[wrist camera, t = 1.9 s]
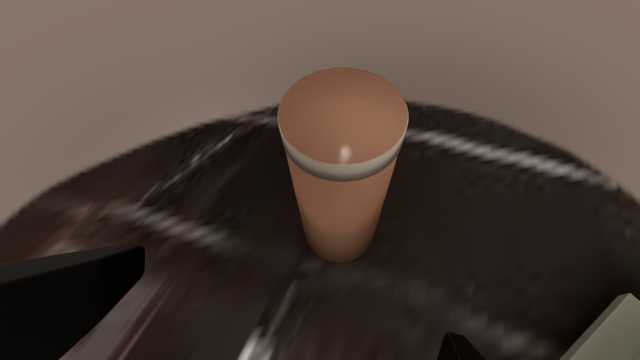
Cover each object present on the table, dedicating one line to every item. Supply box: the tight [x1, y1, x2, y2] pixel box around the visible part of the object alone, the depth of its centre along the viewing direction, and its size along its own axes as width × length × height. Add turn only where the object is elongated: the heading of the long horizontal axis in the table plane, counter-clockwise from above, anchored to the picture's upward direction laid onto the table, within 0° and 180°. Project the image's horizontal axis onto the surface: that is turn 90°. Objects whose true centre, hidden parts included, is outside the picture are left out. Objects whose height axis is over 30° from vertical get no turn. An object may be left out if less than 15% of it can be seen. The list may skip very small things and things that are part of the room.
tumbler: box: [278, 68, 408, 263], centre depth 19 cm, size 6×6×13 cm
